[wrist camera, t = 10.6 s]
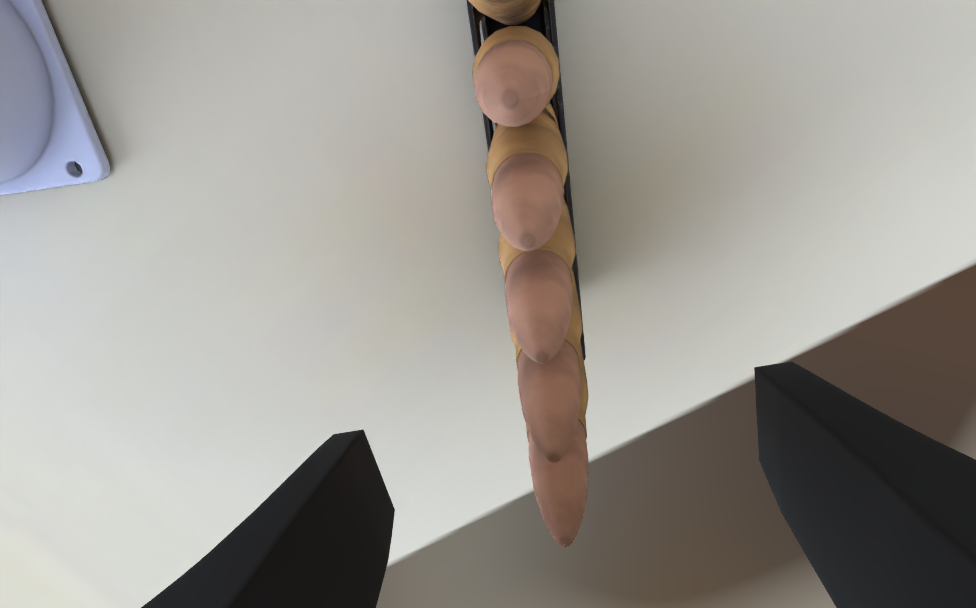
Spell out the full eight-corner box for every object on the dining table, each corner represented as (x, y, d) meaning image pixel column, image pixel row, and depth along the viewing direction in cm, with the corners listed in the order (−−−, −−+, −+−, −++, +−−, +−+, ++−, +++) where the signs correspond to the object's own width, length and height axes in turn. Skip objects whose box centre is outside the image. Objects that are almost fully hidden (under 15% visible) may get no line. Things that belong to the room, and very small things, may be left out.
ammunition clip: (476, -40, 17) (381, -172, 6) (541, -51, 16) (569, -212, 6) (521, 299, 21) (516, 587, 10) (573, 294, 21) (624, 581, 10)
